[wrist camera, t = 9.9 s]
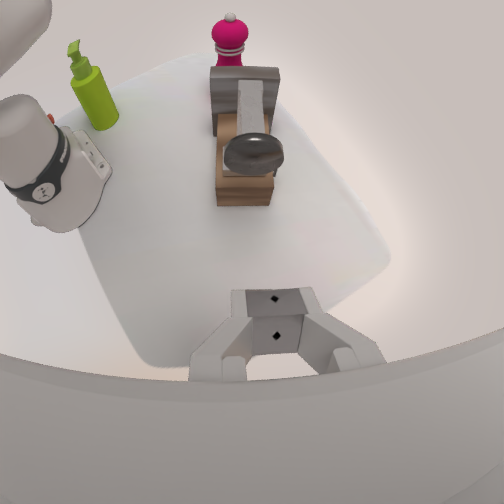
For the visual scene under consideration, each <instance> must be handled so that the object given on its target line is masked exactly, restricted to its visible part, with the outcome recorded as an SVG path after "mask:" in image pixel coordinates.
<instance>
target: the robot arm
mask: <svg viewBox="0 0 504 504" xmlns="http://www.w3.org/2000/svg"><path fill="white" fill-rule="evenodd" d="M51 15H52V1H51V0H0V77H1V76H2V75H3V74H4V73H5V72H6V71H7V70H9V69H10V68H11V67H12V66H13V65H14V64H15V63H16V62H17V61H18V60H19V59H20V58H21V57H22V56H23V55H24V54H25V53H26V52H27V51H28V49H29V48H30V47H31V46H32V45H33V44H34V43H35V42H36V41H37V39H38V38H39V37H40V36H41V35H42V34H43V33H44V32H45V31H46V30H47V28H48V26H49V23H50V20H51ZM54 123H55V122H54V118H53V117H52V115H51V114H48V115H46V114H45V112H44V111H43V109H42V108H41V106H40V105H39V103H38V102H37V100H36V99H34V98H33V97H31V96H29V95H24V94H18V95H13V96H10V97H8V98H5V99H3V100H1V101H0V180H2V181H3V182H4V184H5V186H6V188H7V189H8V190H9V191H10V193H11V194H13V195H14V196H15V197H17V203H18V204H19V205H20V206H21V207H22V208H23V209H24V210H25V211H26V212H27V213H28V214H29V215H30V216H31V222H32V223H33V224H34V225H35V226H44V227H46V228H48V229H49V230H51V231H53V232H56V233H65V232H69V231H71V230H73V229H75V228H77V227H79V226H80V225H81V224H83V223H84V222H85V221H86V220H87V219H88V218H89V217H90V215H91V214H92V213H93V211H94V210H95V208H96V206H97V204H98V202H99V200H100V197H101V194H102V190H103V187H104V184H105V183H106V181H107V180H108V178H109V177H110V175H111V173H112V168H111V166H110V165H109V164H108V162H107V161H106V160H105V158H104V157H103V156H102V154H101V153H100V152H99V150H98V149H97V148H96V146H95V145H94V144H93V142H92V141H91V139H90V138H89V137H88V135H87V134H86V133H85V132H84V131H83V130H79V131H75V132H72V131H71V130H70V128H69V127H66V126H65V127H60V128H58V127H57V126H56V125H54ZM103 166H104V167H103ZM102 167H103V168H102ZM280 353H298V354H299V355H300V356H301V357H302V358H303V359H304V360H305V361H306V362H307V363H308V364H309V365H310V366H311V367H312V368H313V369H314V370H315V371H317V372H318V373H319V375H312V376H303V377H293V378H282V379H270V380H255V381H247V375H246V365H247V363H248V362H249V360H250V359H251V357H252V356H253V355H266V354H280ZM0 504H504V328H502V329H499V330H497V331H494V332H492V333H489V334H486V335H483V336H481V337H478V338H475V339H472V340H470V341H466V342H463V343H460V344H457V345H454V346H451V347H447V348H444V349H441V350H437V351H434V352H430V353H427V354H423V355H419V356H416V357H411V358H407V359H403V360H399V361H394V362H390V363H387V362H386V360H385V359H384V357H383V355H382V353H381V351H380V350H379V348H378V346H377V344H376V342H374V341H372V340H371V339H369V338H368V337H366V336H364V335H363V334H361V333H359V332H358V331H356V330H354V329H353V328H351V327H350V326H348V325H346V324H344V323H343V322H341V321H339V320H338V319H336V318H335V317H333V316H331V315H330V314H328V313H323V311H322V309H321V307H320V304H319V302H318V300H317V298H316V296H315V294H314V291H313V289H312V288H311V287H304V288H294V289H276V290H272V289H265V290H231V318H227V319H226V320H225V321H224V322H223V323H222V324H221V325H220V326H219V327H218V328H217V329H216V330H215V331H214V332H213V334H212V335H211V336H210V337H209V338H208V339H207V340H206V341H205V342H204V343H203V344H202V345H201V346H200V347H199V348H198V349H197V350H196V351H195V352H194V353H193V354H192V355H191V359H190V368H189V378H188V381H164V380H148V379H136V378H125V377H116V376H107V375H99V374H93V373H86V372H79V371H73V370H67V369H63V368H57V367H52V366H48V365H43V364H39V363H34V362H30V361H26V360H22V359H18V358H14V357H11V356H7V355H4V354H0Z"/></svg>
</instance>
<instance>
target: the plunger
mask: <svg viewBox="0 0 504 504" xmlns="http://www.w3.org/2000/svg"><path fill="white" fill-rule="evenodd" d="M262 97H263V82H262V81H260V80H239V82H238V107H237V136H236V137H234V138H232V139H231V140H229V141H228V142H227V143H226V145H225V147H223V176H266V175H267V173H270V172H272V171H274V172H273V177H275V176H276V172H277V169H278V168H279V167H280V166H281V165H282V163H283V161H284V154H283V147H282V144H281V142H280V141H279V140H278V139H277V138H275V137H273V136H271V135H268V134H265V126H264V114H263V103H262Z"/></svg>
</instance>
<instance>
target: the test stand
mask: <svg viewBox="0 0 504 504" xmlns="http://www.w3.org/2000/svg"><path fill="white" fill-rule="evenodd" d="M239 80H260V81H262V82H263V97H262V103H263V114H264V126H265V134H268V135H270V131H271V126H272V120H273V115H274V110H275V104H276V99H277V94H278V88H279V83H280V74H279V69H278V68H276V67H257V66H213V67H211V70H210V93H211V108H212V122H213V136H217V153H216V196H217V206H269V203H270V200H271V196H272V193H273V189H274V181H273V171H272V172H270V173H267V175H266V176H223V147H225V145H226V143H227V142H228V141H229V140H231V139H232V138H234V137H236V136H237V107H238V82H239Z"/></svg>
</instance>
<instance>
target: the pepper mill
mask: <svg viewBox="0 0 504 504" xmlns="http://www.w3.org/2000/svg"><path fill="white" fill-rule="evenodd" d="M212 38H213V40H214V41H215V42H216V43H215V51H216V52H217V53H218V61H217V64H216V66H243V65H242V62H241V53H242V52H243V51H244V45H245V44H244V42H245V41H246V39H247V38H248V28H247V26H246V25H245V23H243V22H242V21H240V20H237V19H236V16H235V14H233V13H228V14H226V15H225V19H224V20H221V21H219V22H217V23H216V24H215V25H214V27H213V29H212Z"/></svg>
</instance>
